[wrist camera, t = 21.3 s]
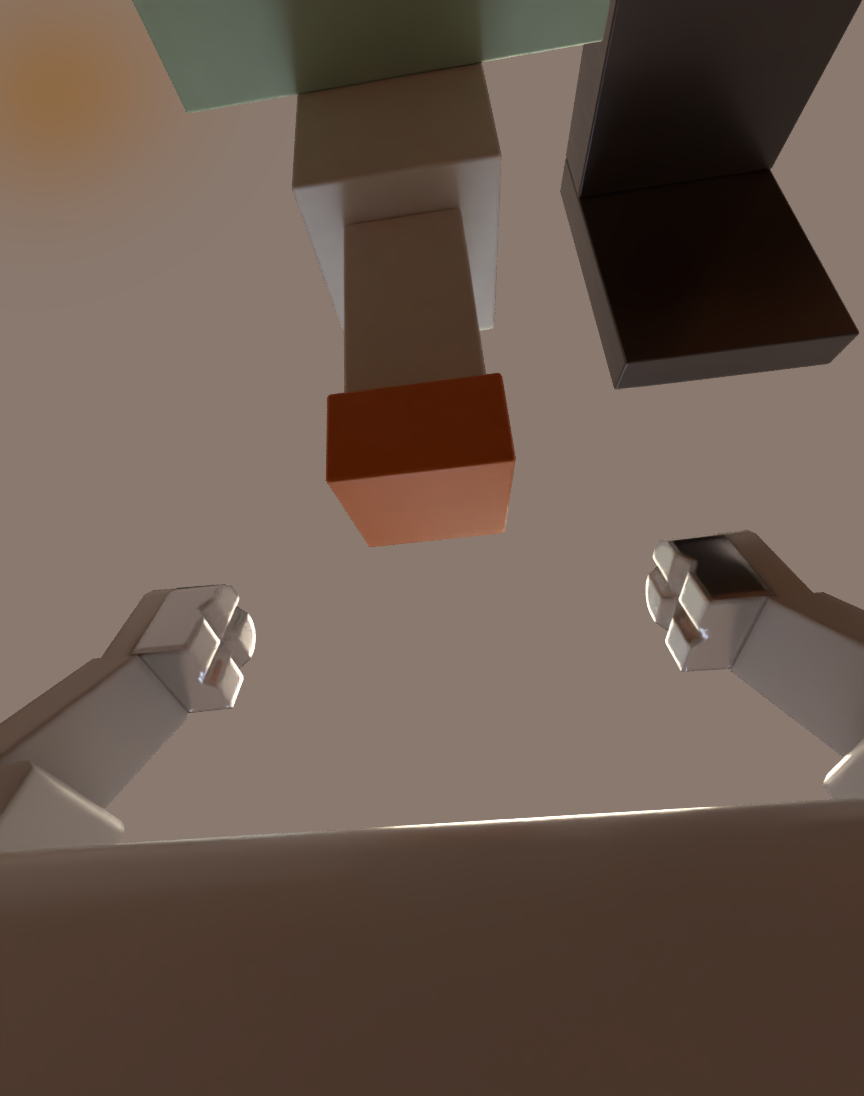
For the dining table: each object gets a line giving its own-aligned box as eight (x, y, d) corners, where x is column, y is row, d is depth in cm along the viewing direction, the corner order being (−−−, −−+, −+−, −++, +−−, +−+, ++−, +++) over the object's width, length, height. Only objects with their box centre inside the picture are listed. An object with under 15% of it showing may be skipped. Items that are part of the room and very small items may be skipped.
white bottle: (273, 467, 6) (350, 559, 9) (561, 433, 5) (529, 540, 9) (308, -117, 12) (345, 63, 16) (439, -144, 12) (447, 44, 15)
